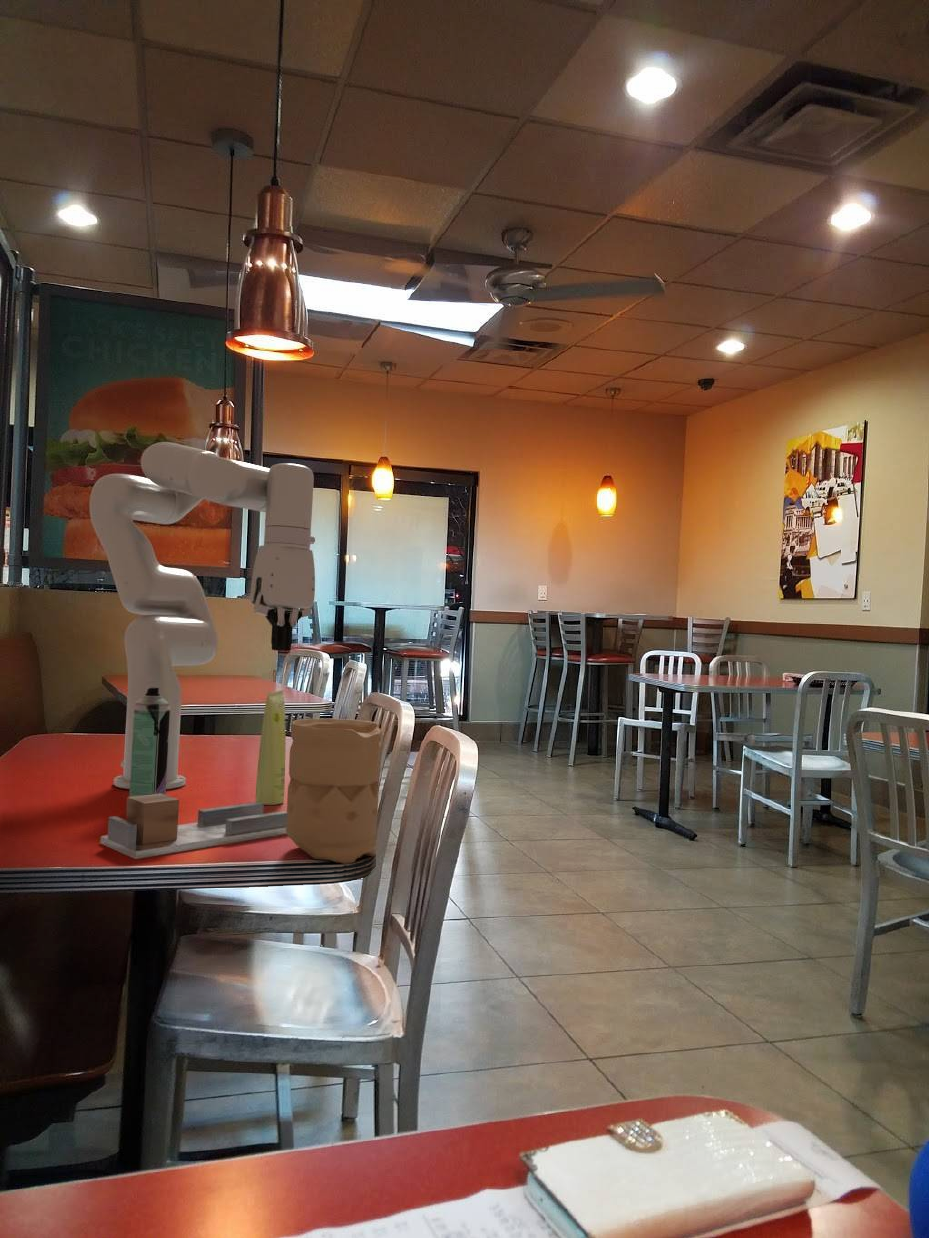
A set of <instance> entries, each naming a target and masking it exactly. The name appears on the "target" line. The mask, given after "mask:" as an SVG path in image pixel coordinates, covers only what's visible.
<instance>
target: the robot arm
mask: <svg viewBox="0 0 929 1238" xmlns="http://www.w3.org/2000/svg"><path fill="white" fill-rule="evenodd" d="M140 467H141V470H142V472H143V474H144V476H145V477H144V476H140V475H139V476H138V475H133V474H126V473H109V474H106V475H103V476H102V477H100V478H98V479H97V480H96V481H95V483H94V485H93V487H92V489H91V491H90V496H89V515H90V520H91V524H92V527H93V529H94V532H95V535H96V537H97V538H98V541H99V542H100V544H101V546H102V548H103V550H104V553H105V555H106V558H107V561H108V565H109V567H110V568H109V569H110V571H111V574H112V578H113V582H114V584H115V587H116V590H117V594H118V597H119V600H120V602H121V604H122V606H123V608H124V609H125V610H126V611H127V612H128V613H130V614H131V613H132V614H134V615H135V614H136V615H141V616H139V617H136V618H135V619H133V620H132V621H131V622H130V623H129V624H128V626H127V628H126V629H125V632H124V633H125V634H124V650H125V656H126V657H125V658H126V665H127V697H126V717H125V719H126V722H125V736H124V737H125V738H124V753H123V754H124V757H123V760H121V762H120V766H121V767H122V768H123V771H122V772H123V774H120V775H117V776H116V777H114V779H113V785H114V787H116V788H120V789H125V790H130V778H131V760H132V741H133V723H134V707H135V706H136V704H135V702H137V701H139V700H140V699H142V698H144V695H146V693H147V690H148V689H149V688H152V687H158V688H159V693H160V695H162V697H161V698H163V699H165V700H166V701H167V702H169V703H170V705H169V707H170V720H169V739H168V757H167V775H166V790H170V789H177V788H180V787H182V786H185V784H186V780H187V778H186V777H185V776H184V775H180V774H178V771H179V770H178V769H179V754H180V753H179V752H180V751H179V749H180V731H181V715H182V712H181V711H182V685H181V683H180V680H179V678H178V676H177V673H176V671H175V669H174V667H175V666H176V667H180V666H181V667H183V666H185V667H189V666H190V667H191V666H201V665H205V664H208V663H209V662H211V661H212V660H213V659H214V657H215V655H216V654H217V651H218V645H219V640H218V639H219V637H218V633H217V631H218V630H217V628H216V625H215V622H214V619H213V616H212V613H211V610H210V607H209V603H208V601H207V598H206V594H205V593H204V589H203V586H202V584H201V582H200V580H199V579H198V578H197V577H196V576H195V574H193V573H192V572H191V571H189V570H186V569H182V568H176V567H166V566H164V565H162V564H160V562H159V561H158V558H157V557H156V554H155V550H154V547H153V545H152V542H151V540H150V539H149V538H148V537H147V535H146V534H145V533H144V532H143V531H142V530H141V528H140V527H138V525H136V523H135V522H134V521H138V522H139V521H140V522H144V523H145V522H146V523H153V524H159V525H171V524H174V523H177V522H179V521H180V520H182V519H183V518H185V516H186V515H187V514H188V513H190V512H191V511H192V510H193V509H194V508H196V507H197V506H198V505H199V504H200V503H201V502H202V501H203V500H205V501H210V502H212V503H217V504H220V505H223V506H228V507H232V508H233V507H235V508H241V509H247V510H250V511H255V512H260V513H265V519H264V534H263V535H264V536H263V537H264V538H263V545H258V549H257V553H256V556H255V561H254V563H253V570H252V577H251V586H250V596H249V597H250V602H251V604H252V605H254V607H253V612H254V613H256V614H258V615H261V616H264V617H265V618H266V620H267V622H268V624H269V626H271V636H270V637H271V640H270V644H271V650H272V651H279V652H290V651H291V649H292V643H293V628H295V627H296V625H297V623H298V622H299V620H301V619H302V618H305V617H309V616H311V615H312V613H313V612H312V607H313V605H314V602H315V597H316V595H315V594H316V593H315V592H316V573H315V572H316V571H315V569H316V568H315V559H314V552H313V550H311V545H314V544H315V542H316V539H315V538H316V537H315V536H312V531H311V530H312V518H313V515H312V514H313V499H314V498H313V497H314V484H315V483H314V482H315V481H314V480H315V478H314V477H315V475H314V473H313V470H312V469H311V468H309V466H308V467H307V466H306V465H302V464H296V463H277V464H273V465H272V466H270V468H269V467H264V466H261V465H256V464H252V463H248V462H244V461H243V462H242V461H238V460H235V459H231V458H226V457H220V456H219V455H218V454H216V453H215V452H213V451H210V450H205V449H202V448H197V447H196V448H195V447H191V446H187V445H183V444H179V443H176V442H169V441H163V442H162V441H161V442H156V443H153V444H151V445H149V446H148V447H147V448H145V450H144V451H143V453H142V456H141V458H140Z"/></svg>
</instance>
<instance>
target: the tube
mask: <svg viewBox="0 0 929 1238" xmlns="http://www.w3.org/2000/svg"><path fill="white" fill-rule="evenodd" d="M286 742H287V741H286V704H285V695H284V689H281V690H276V691H272V692H269V693H267V696H266V701H265V704H264V711H263V719H262V727H261V735H260V743H259V752H258V763H257V771H256V772H257V773H256V783H255V784H256V785H255V795H254V797H255V798H254V801H255V802H260V803H263V804H264V805H265V806H266V805H267V806H274V805H275V806H276V805H281V804H283V803H284V802H285V784H286V783H285V782H286V744H287V743H286ZM255 802H254V803H255Z"/></svg>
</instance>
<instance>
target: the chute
mask: <svg viewBox="0 0 929 1238" xmlns="http://www.w3.org/2000/svg"><path fill="white" fill-rule="evenodd" d="M264 807H265V806H264V804H263V803H260V802H248V803H241V804H235V805H234V804H233V805H225V806H218V807H210V808H203V809H201V808H200V809H198V810H197V811H198V812H197V821H196V822H191V823H184V824H178V830H177V839H176V840H170V841H163V842H157V843H150V844H144V845H142V844H140V843H138V842H136V833H137V824H134V823H132V822H129V821H127V820H126V819H124V818H121V817H119V816H113V815H112V816H109V817H108V823H107V824H108V825H107V834H106V835H101V836H100V845H103V846H106V847H107V848H109V849H112V850H114V851H116V852H119V853H120V854H123V855H125V856H127V857H130V858H131V859H133V860H139V859H144V858H145V859H146V858H150V857H151V858H152V857H157V856H162V855H169V854H175V853H182V852H186V851H194V850H198V849H199V850H200V849H206V848H211V847H218V846H221V845H222V846H223V845H230V844H236V843H241V842H246V841H252V840H258V839H263V838H264V839H266V838H269V837H270V838H271V837H277V836H283V835H287V833H286V819H287V810H281V811H276V812H266V813H264Z"/></svg>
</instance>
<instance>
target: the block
mask: <svg viewBox="0 0 929 1238" xmlns="http://www.w3.org/2000/svg"><path fill="white" fill-rule="evenodd" d="M179 809H180V799H179V798H176V797H173V796H171V795H167V794H165V795H164V794H161V793H160V794H151V795H143V796H134V797H129V796H128V797H126V812H125V813H126V814H125V820H127V821H129V822H132V823H134V824H137V833H136V842H138V843H140V844H142V845H144V844H150V843H157V842H163V841H170V840H176V839H177V830H178V825H179V812H180V811H179Z"/></svg>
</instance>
